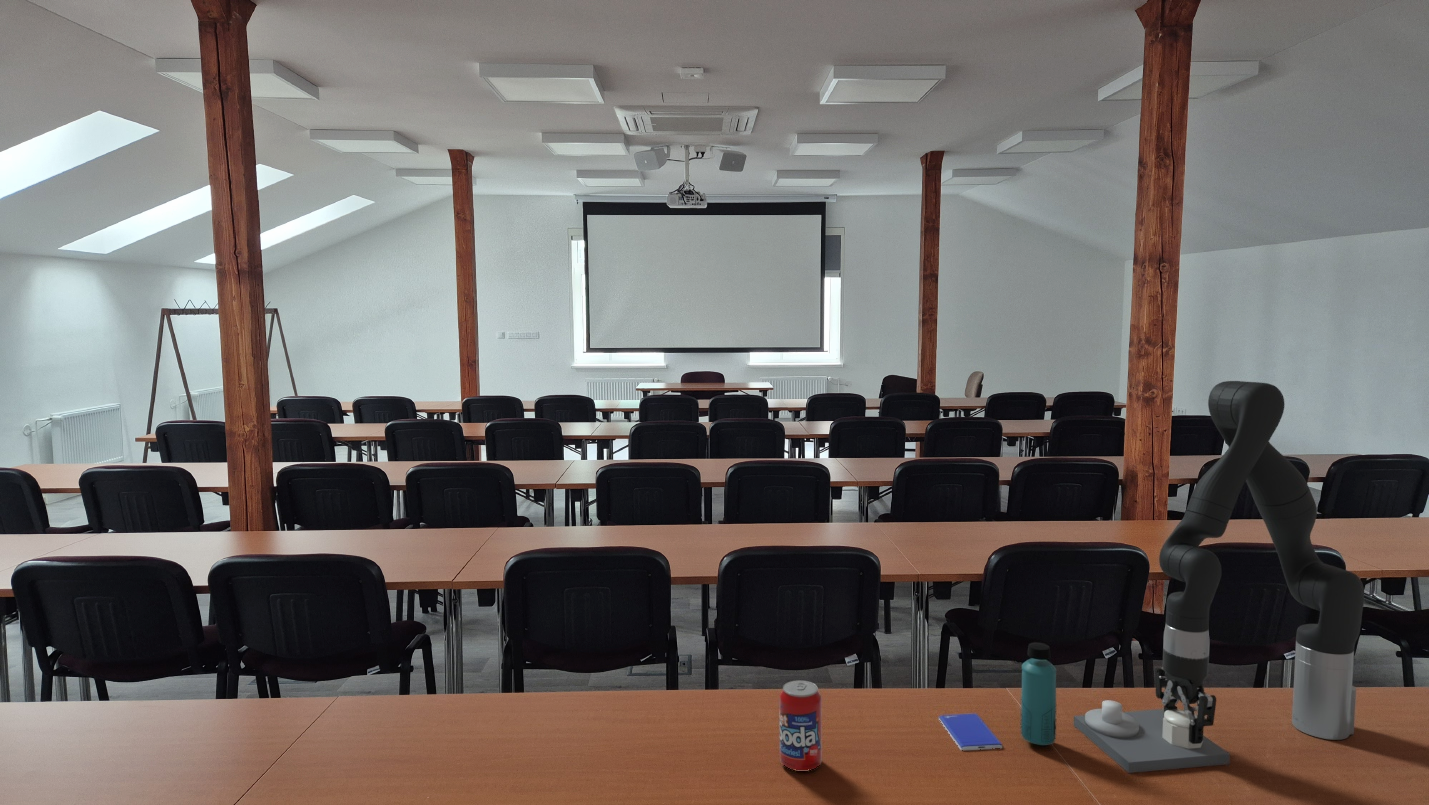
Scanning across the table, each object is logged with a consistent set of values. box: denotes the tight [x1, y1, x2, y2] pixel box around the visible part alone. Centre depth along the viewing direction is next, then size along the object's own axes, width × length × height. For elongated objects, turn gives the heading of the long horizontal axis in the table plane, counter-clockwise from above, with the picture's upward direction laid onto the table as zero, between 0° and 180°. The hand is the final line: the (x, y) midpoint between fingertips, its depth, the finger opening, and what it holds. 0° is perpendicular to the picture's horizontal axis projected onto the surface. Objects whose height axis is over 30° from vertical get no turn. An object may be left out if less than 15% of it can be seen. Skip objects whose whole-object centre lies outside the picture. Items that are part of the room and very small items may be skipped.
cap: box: [1162, 708, 1204, 749], centre depth 157 cm, size 6×6×4 cm
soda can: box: [778, 679, 823, 770], centre depth 153 cm, size 8×8×15 cm
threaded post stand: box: [1073, 699, 1231, 774], centre depth 159 cm, size 20×18×6 cm
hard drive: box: [938, 713, 1003, 752], centre depth 164 cm, size 2×8×12 cm
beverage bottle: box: [1019, 642, 1058, 746], centre depth 159 cm, size 6×7×20 cm
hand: (1182, 733), depth 157 cm, fingers closed on cap, 6 cm apart
